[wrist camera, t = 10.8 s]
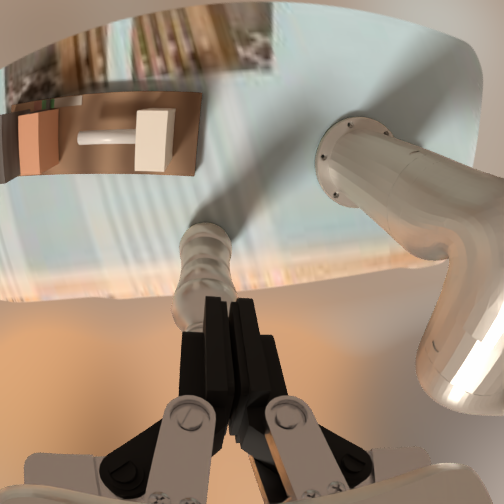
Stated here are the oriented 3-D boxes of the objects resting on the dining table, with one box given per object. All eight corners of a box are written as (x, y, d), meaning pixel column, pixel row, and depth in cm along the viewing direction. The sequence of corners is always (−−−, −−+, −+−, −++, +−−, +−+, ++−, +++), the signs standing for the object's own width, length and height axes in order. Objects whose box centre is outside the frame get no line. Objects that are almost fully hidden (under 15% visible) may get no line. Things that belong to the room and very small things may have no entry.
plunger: (175, 108, 30) (168, 110, 25) (171, 159, 33) (164, 171, 28) (89, 110, 28) (67, 114, 23) (89, 158, 31) (68, 171, 26)
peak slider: (59, 97, 26) (38, 100, 22) (59, 163, 30) (40, 174, 26) (40, 100, 26) (18, 103, 22) (40, 164, 30) (20, 175, 26)
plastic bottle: (182, 215, 38) (161, 320, 21) (233, 219, 39) (253, 325, 22) (180, 258, 41) (165, 374, 24) (228, 261, 42) (242, 377, 25)
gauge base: (202, 92, 31) (199, 91, 24) (194, 173, 36) (190, 193, 29) (17, 104, 27) (-18, 111, 20) (19, 173, 31) (-13, 192, 24)
